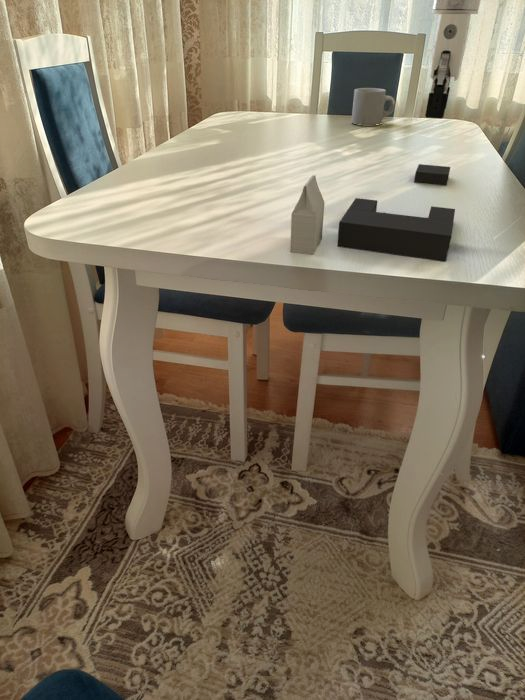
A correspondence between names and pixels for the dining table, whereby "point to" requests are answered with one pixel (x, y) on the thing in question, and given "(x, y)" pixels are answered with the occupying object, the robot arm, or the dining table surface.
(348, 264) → the dining table surface
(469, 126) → the dining table surface
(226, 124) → the dining table surface
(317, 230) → the grey milk carton
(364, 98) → the coffee mug
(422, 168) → the small pad
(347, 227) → the big black notched block
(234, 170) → the dining table surface
